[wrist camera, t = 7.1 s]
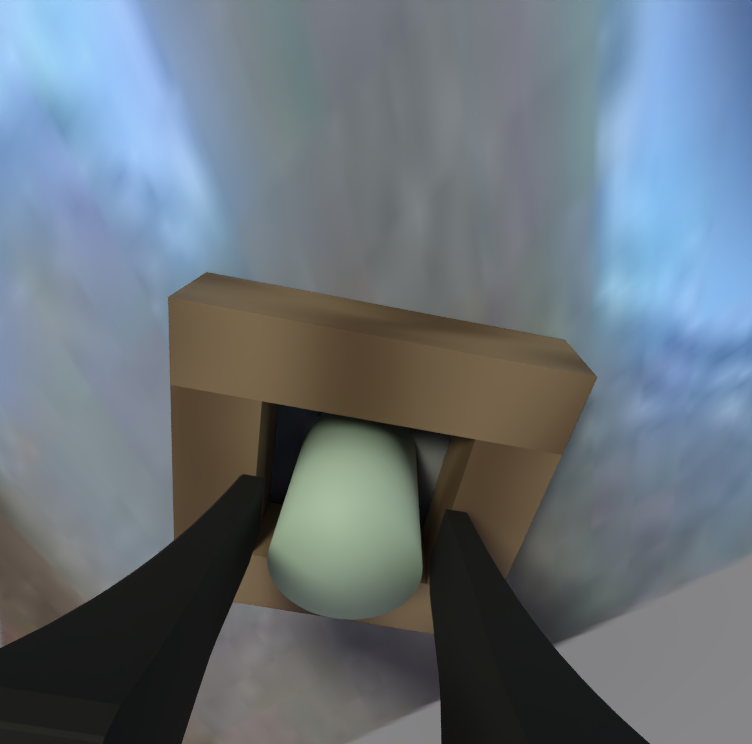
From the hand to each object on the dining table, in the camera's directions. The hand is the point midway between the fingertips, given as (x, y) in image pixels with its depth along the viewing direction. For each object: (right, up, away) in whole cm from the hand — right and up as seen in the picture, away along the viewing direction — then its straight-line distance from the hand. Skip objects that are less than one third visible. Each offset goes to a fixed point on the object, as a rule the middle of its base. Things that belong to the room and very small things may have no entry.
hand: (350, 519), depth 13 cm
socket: (0, +1, +3) cm, 3 cm away
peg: (0, +1, +3) cm, 3 cm away
